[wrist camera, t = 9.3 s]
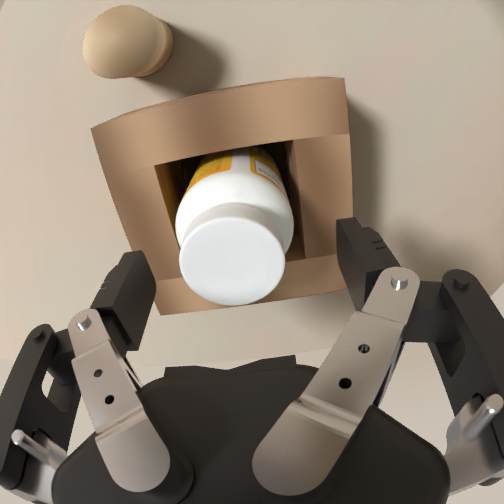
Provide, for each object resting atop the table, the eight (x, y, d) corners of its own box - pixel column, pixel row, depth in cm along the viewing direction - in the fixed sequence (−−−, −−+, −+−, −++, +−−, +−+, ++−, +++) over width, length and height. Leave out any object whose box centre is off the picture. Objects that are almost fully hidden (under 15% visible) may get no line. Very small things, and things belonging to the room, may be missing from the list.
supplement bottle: (285, 145, 18) (321, 209, 10) (271, 220, 21) (290, 322, 13) (198, 135, 18) (160, 192, 10) (192, 212, 21) (164, 311, 13)
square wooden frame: (318, 76, 16) (344, 78, 12) (332, 245, 22) (351, 288, 18) (125, 113, 17) (90, 128, 13) (173, 269, 23) (160, 315, 19)
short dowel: (168, 9, 13) (149, -6, 10) (179, 66, 15) (163, 64, 12) (107, 29, 14) (77, 23, 10) (118, 84, 16) (90, 89, 12)
